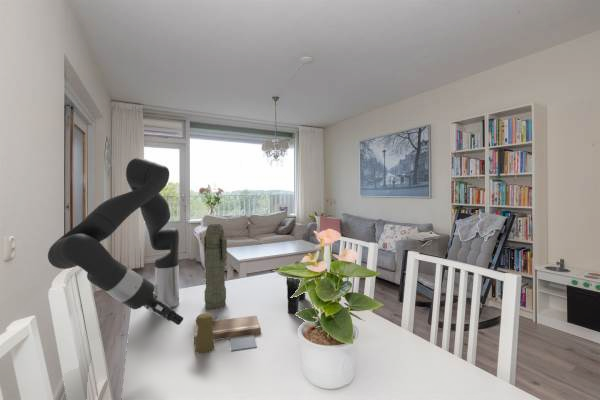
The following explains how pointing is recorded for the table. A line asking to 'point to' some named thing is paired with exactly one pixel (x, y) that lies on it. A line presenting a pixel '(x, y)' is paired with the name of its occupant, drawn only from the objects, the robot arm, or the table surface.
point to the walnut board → (233, 327)
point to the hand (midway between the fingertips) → (174, 316)
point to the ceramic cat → (291, 288)
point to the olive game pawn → (204, 334)
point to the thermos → (215, 266)
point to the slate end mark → (242, 342)
